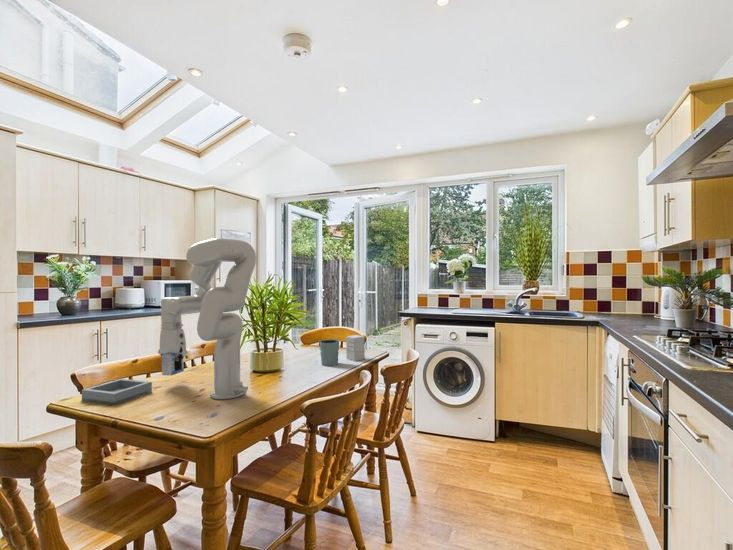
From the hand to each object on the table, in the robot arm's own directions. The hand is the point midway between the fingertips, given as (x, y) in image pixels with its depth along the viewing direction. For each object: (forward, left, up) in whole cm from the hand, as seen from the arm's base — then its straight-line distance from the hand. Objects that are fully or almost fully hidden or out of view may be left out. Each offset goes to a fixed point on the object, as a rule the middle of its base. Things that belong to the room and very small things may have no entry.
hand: (173, 369), depth 162 cm
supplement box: (-57, -69, -7) cm, 90 cm away
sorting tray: (+9, +18, -7) cm, 21 cm away
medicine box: (0, 0, -2) cm, 2 cm away
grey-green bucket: (-48, -54, -7) cm, 73 cm away
